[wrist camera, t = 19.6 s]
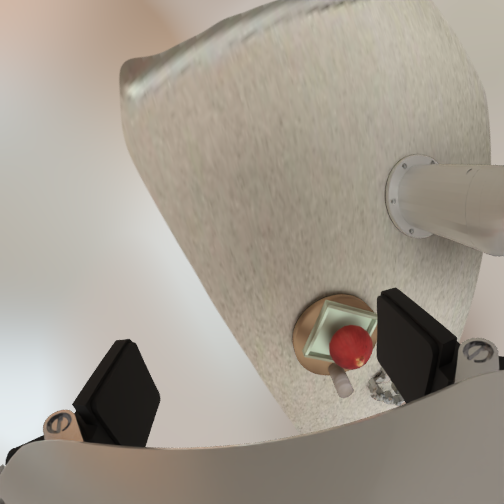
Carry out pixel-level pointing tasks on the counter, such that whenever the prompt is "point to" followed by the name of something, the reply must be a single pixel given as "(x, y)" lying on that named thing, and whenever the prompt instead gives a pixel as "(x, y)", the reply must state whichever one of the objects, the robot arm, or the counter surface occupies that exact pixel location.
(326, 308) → the disc
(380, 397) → the egg carton
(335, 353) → the onion
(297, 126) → the counter surface
